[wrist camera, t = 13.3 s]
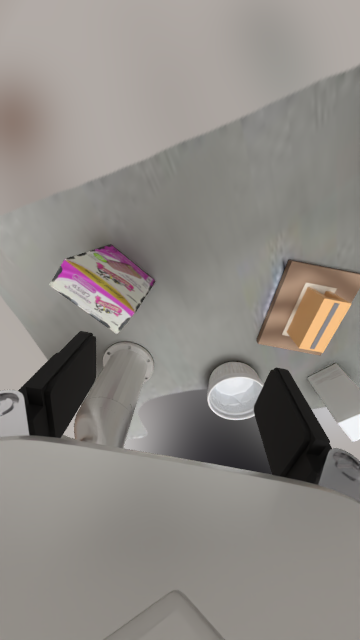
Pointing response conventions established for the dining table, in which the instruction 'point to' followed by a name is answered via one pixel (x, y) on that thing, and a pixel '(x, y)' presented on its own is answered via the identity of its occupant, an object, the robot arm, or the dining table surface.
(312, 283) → the pin board
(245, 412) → the ramekin
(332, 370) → the supplement box
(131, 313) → the candy bar box
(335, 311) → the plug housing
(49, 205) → the dining table surface
